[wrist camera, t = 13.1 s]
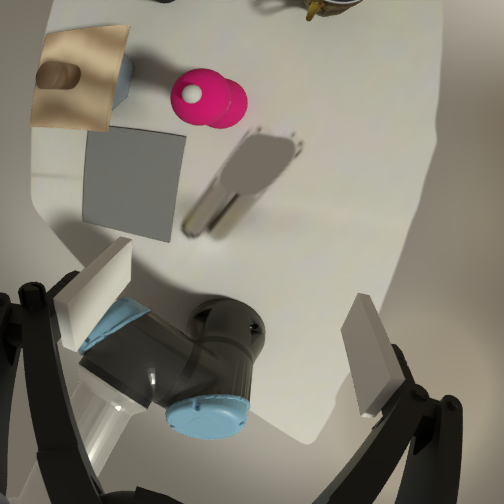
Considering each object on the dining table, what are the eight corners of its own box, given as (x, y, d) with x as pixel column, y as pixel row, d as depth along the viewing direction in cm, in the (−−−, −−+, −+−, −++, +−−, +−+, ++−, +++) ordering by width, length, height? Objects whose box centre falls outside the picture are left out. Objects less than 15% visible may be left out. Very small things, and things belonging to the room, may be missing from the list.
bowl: (123, 119, 42) (101, 120, 36) (65, 115, 42) (40, 117, 36) (139, 44, 37) (119, 35, 31) (77, 47, 37) (54, 42, 30)
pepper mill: (197, 89, 40) (144, 69, 22) (244, 77, 39) (221, 45, 21) (207, 132, 43) (160, 142, 25) (254, 122, 42) (238, 122, 24)
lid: (108, 131, 37) (80, 135, 30) (34, 125, 36) (4, 131, 30) (130, 26, 30) (105, 13, 23) (50, 35, 30) (22, 29, 23)
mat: (170, 241, 51) (169, 242, 50) (84, 220, 50) (82, 221, 50) (186, 136, 43) (185, 137, 43) (91, 124, 43) (89, 125, 42)
